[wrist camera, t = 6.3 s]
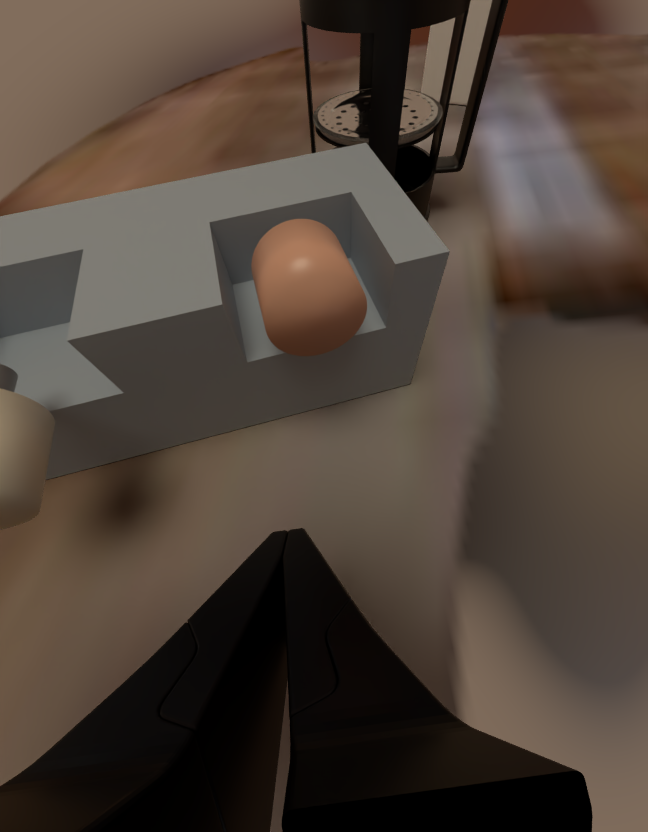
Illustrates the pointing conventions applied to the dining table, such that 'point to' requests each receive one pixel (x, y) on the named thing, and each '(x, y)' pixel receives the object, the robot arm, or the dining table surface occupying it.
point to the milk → (467, 57)
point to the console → (203, 304)
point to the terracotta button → (306, 288)
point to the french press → (397, 86)
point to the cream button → (22, 452)
